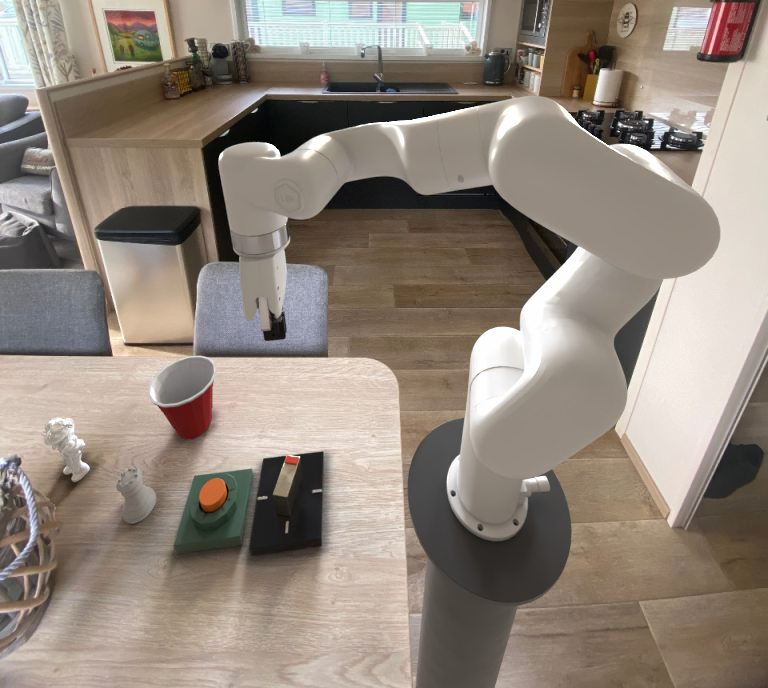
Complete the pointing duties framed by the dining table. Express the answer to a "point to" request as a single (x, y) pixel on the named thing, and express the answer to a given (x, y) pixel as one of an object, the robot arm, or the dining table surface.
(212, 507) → the button
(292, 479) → the knob
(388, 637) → the dining table surface
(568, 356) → the robot arm
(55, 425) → the hat wearing toy figure
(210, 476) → the button block
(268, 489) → the panel
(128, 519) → the rook chess piece
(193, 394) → the plastic cup
